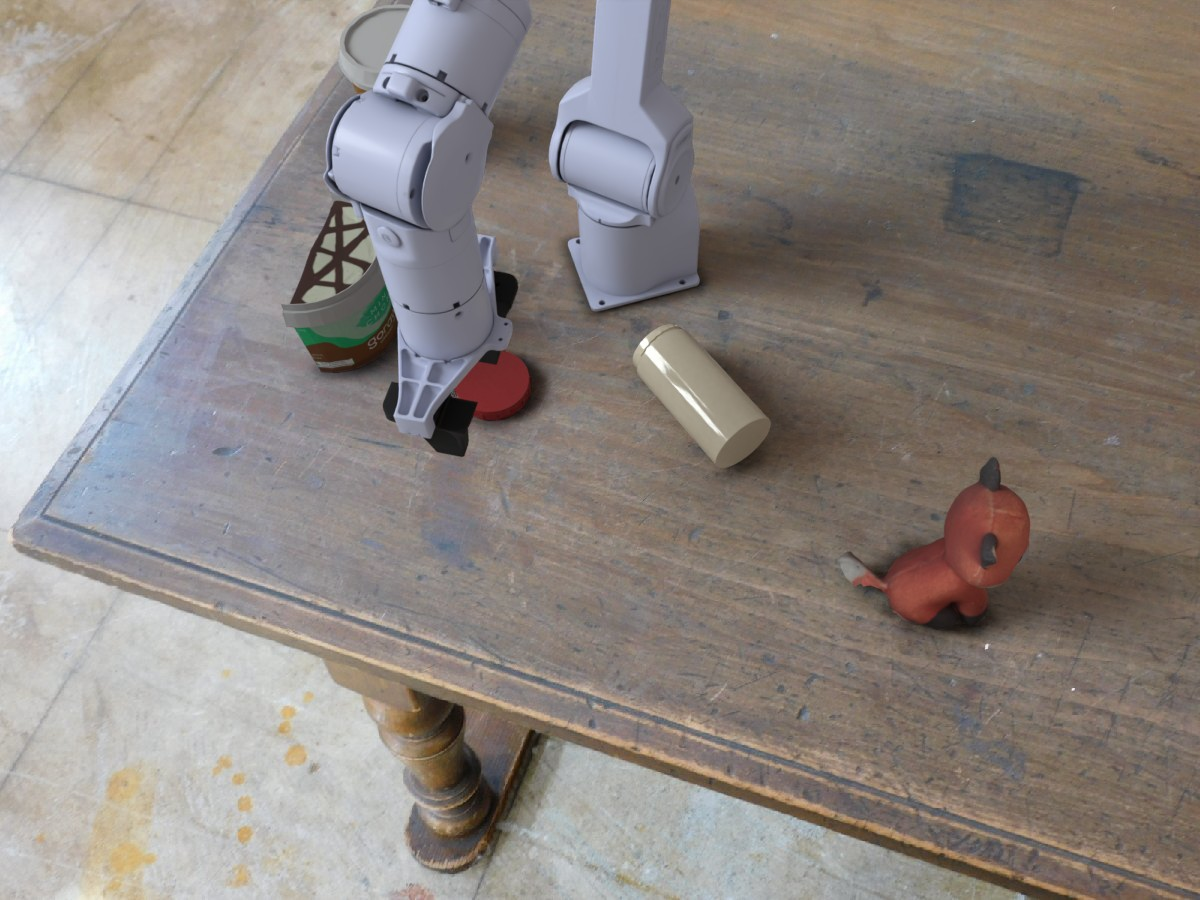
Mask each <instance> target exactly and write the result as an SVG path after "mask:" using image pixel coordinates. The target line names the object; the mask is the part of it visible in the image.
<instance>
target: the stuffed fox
mask: <svg viewBox="0 0 1200 900" xmlns="http://www.w3.org/2000/svg"><path fill="white" fill-rule="evenodd" d="M1001 483H1002V472H1001V466H1000V462H999V459H998V458H997V457H996V456H991V457H990V458H988V460H987V461H986V463H985V464H984V465H983V466H981V467H980V470H979V478H978V480H977V481H976V482H975V483H973V484H970V485H969V486H967V487H966V488H964V489H963V490H961V491H960V492H959V493H958V494H957V496H956V497H955V498H954V500H953V501H952V503H951V504H950V507H949V509H948V511H947V513H946V516H945V519H944V520H945V521H944V524H943V537H940V538H938V539H936V540H934V541H932V542H931V543H928V544H924V545H920V546H917V547H914V548H910V549H908V550H907V551H906V552H904V553H902V554H901V555H899V556H898V557H897V558H895V560H894V561H893V563H891V565H890V566H889V569H888V570H887V571H886V572H885V573H883V574H882V573H880V574H879V575H877V574H876V573H875V572H874V571H873V570H872V569H871V568H870V567H868V566H867V565H866V564H865V563H864V562H863V561H862V560H861V559H860V558H858V557H857V556H855V554H854V553H853V552H852V551H851V550H849V551H846V552H845V553H843V554H841V555H839V556H838V557H837V562H838V565H839V566H840V568H841V571H842V573H843V575H844V577H845V578H846V580H848V581H849V582H850V583H851V585H853V586H854V587H857V586H858V585H861V586H862V587H863V588H864V587H867V586H872V587H874V588H876V589H879V590H881V591H882V593H884V594H885V595H887V597H888V601H889V607H890V608H891V609H892V612H893V613H894V614H897V616H899V618H901V621H903V622H906V623H909V624H916V625H918V626H921V627H924V628H930V629H933V630H937V631H938V630H940V631H945V630H950V629H952V628H953V627H955V626H956V625H958V624H962V625H965V626H969V627H974V626H977V625H978V624H980V623H981V621H982V620H984V618H985V617H987V613H988V607H989V600H988V590H987V589H993V588H996V587H1000V586H1002V585H1003V584H1005V582H1006V581H1008V580H1009V578H1010V577H1011V575H1012V573H1013V571H1014V570H1015V568H1017V567H1019V566H1020V565H1022V564H1024V562H1025V561H1026V560H1027V559H1028V556H1029V554H1030V535H1031V534H1030V533H1031V517H1030V513H1029V510H1028V507H1027V505H1026V503H1025V502H1024V500H1023V499H1022V498H1021V496H1019V495H1018V494H1017V493H1016V492H1015V491H1014V490H1012V489H1011V488H1009V487H1008V486H1006V485H1004V484H1001Z"/></svg>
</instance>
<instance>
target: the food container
mask: <svg viewBox="0 0 1200 900" xmlns="http://www.w3.org/2000/svg"><path fill="white" fill-rule="evenodd" d="M329 192H330V195H331V199H332V205H331V207H330V208H329V209H330V210H329V213H328V215H327V218H326V220H325V221H324V224H323V226H322V228H321V231H320V232H319V234H318V236H317V237H316V239H315V241H314V243H313V245H312V247H311V248H310V251H309V253H308V255H307V259H306V262H305V265H304V267H303V271H302V273H301V275H300V279H299V282H298V283H297V286H296V288H295V291H294V293H293V295H292V298H291V300H290V302H289V303H282V302H281V303H280V306H281V309H282V312H281V314H282V317H283V321H284V324H285V327H286V328H293V329H294V330H295V332H296V333H297V335H298V337H299V339H300V340H301V341H302V344H303V345H304V346H305V348H306V350H307V351H308V353H309V355H310V356H311V358H312V360H313V361H314V363H315V365H316V366H317V368H318V370H319V371H320V372H321V373H340V372H348V371H354V370H356V369H358V368H361V367H363V366H365V365H368V364H370V363H372V362H373V361H375V360H376V359H377V358H378V357H380V356H381V355H383V354H384V353H385V352H386V351H387V349H388V348H389V347H390V346H391V344H392V343H393V341H394V339H395V338H396V336H397V333H398V321H397V317H396V314H395V311H394V308H393V305H392V302H391V299H390V296H389V293H388V290H387V287H386V284H385V281H384V278H383V275H382V272H381V268H380V265H379V262H378V259H377V256H376V253H375V250H374V247H373V244H372V241H371V237H370V234H369V231H368V228H367V225H366V222H365V221H364V218H363V219H361V218H359V217H357V216H356V215H355V212H354V209H353V206H352V204H351V202H350V201H349V200H347V199H344V198H342V197H339V196H337V195H335V194H334V193H333V192H331V191H329Z"/></svg>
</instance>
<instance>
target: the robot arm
mask: <svg viewBox="0 0 1200 900" xmlns="http://www.w3.org/2000/svg"><path fill="white" fill-rule="evenodd" d="M595 1H596V4H595V15H594V16H595V17H594V31H593V41H592V42H593V43H592V44H593V45H592V59H591V70H590V71H591V73H590V75H588V76H585V77H583V78H581V79H580V80H578V81H576V82H575V83H574V84H573V85H572V86H571V87H570V88H569V89H568V90H567V92H566V93H565V94H564V95H563V97H562V98H561V100H560V101H559V104H558V110H557V117H556V123H555V127H554V129H553V132H552V136H551V138H550V143H549V148H548V164H549V167H550V172H551V174H552V176H553V178H554V179H555V180H556V181H558V182H561V183H563V184H566V186H567V195H568V196H569V197H571V198H572V199H574V200H575V201H576V205H577V207H576V209H577V219H578V232H579V233H578V234H579V237H574V238H571V239H569V240H568V242H567V247H568V251H569V253H570V255H571V258H572V259H571V260H572V262H573V264H574V267H575V269H576V272H577V275H578V277H579V281H580V284H581V286H582V289H583V291H584V294H585V297H586V300H587V302H588V305H589V307H590V309H591V311H593V312H602V311H604V310H609V309H614V308H617V307H621V306H624V305H625V306H626V305H629V304H634V303H636V302H640V301H644V300H648V299H652V298H656V297H659V296H662V295H667V294H671V293H674V292H675V293H676V292H679V291H683V290H687V289H690V288H694V287H697V286H698V285H700V283H701V282H700V275H699V274H698V263H699V262H698V261H699V246H700V231H701V229H700V227H701V226H700V213H699V205H698V201H697V197H696V194H695V191H694V188H693V185H692V182H691V177H692V174H693V170H694V165H695V150H694V145H693V144H694V143H693V134H694V125H693V124H694V123H693V122H694V115H693V114H692V112H691V111H690V109H689V108H688V107H687V106H686V105H685V104H684V103H683V102H682V100H680V98H679V97H678V96H677V95H676V94H675V93H674V92H673V90H672V89H670V87H669V86H668V85H667V84H666V82H665V81H664V79H663V78H662V77H663V69H664V62H665V61H664V60H665V55H666V54H665V53H666V45H667V37H668V30H669V23H670V22H669V21H670V14H671V6H672V0H595ZM410 5H411V7H410V9H409V11H408V13H407V15H406V17H405V20H404V22H403V24H402V26H401V28H400V30H399V32H398V35H397V37H396V39H395V41H394V43H393V45H392V47H391V50H390V52H389V54H388V56H387V58H386V60H385V62H384V65H383V67H382V69H381V71H380V73H379V75H378V77H377V80H376V82H375V84H374V86H373V89H371V90H369V91H367V92H365V93H363V94H357V93H356V94H354V95H353V96H351V97H350V98H349V99H347V100H345V102H344V104H342V105H341V107H340V108H339V109H338V111H337V112H336V114H335V116H334V117H333V120H332V122H331V124H330V127H329V130H328V133H327V138H326V143H325V162H326V168H325V169H326V170H325V171H324V173H323V175H322V176H323V177H322V178H323V181H324V183H325V185H326V186H327V188H328V190H329V192H333V193H334V194H335V195H337V196H339V197H342V198H344V199H347V200H349V201H350V202H351V204H352V206H353V209H354V212H355V215H356V216H357V217H359V218H361V219H363V218H364V221H365V222H366V225H367V228H368V231H369V234H370V237H371V241H372V244H373V247H374V250H375V253H376V256H377V259H378V262H379V265H380V268H381V272H382V275H383V278H384V281H385V284H386V287H387V290H388V293H389V296H390V299H391V302H392V305H393V308H394V311H395V314H396V317H397V321H398V328H397V353H398V354H397V360H398V361H397V362H398V365H397V366H398V382H395V381H391V382H390V384H389V387H388V389H387V391H386V394H385V397H384V399H383V402H382V410H383V412H384V415H385V418H386V419H387V421H389V422H392V423H395V424H396V427H397V430H398V432H399V433H400V434H404V435H408V436H412V437H418V438H422V439H424V440H425V441H426V442H427V443H428V444H429V446H431V447H432V449H433V450H434V451H435V452H436V453H439V454H444V455H448V456H453V457H459V458H463V457H465V455H466V453H467V450H468V447H469V443H470V437H469V436H470V435H469V427H470V426H471V423H472V421H473V417H474V416H473V415H474V412H475V410H476V407H477V404H478V402H475V401H470V400H464V399H459V398H457V397H455V396H452V392H453V391H455V390H454V389H455V388H456V386H457V385H458V384H459V383H460V382H461V381H462V380H463V378H464V377H465V376H466V375H467V374H468V373H469V371H470V370H471V369H472V368H473V367H474V366H475V364H476V363H477V362H483V363H488V364H494V365H497V362H498V359H499V356H500V353H501V351H505V350H506V349H507V348H508V346H509V345H510V341H511V339H512V336H513V333H514V326H513V322H512V320H511V319H509V318H507V315H508V314H509V312H510V310H511V309H512V308H513V305H514V302H515V300H516V297H517V294H518V291H519V283H518V279H517V277H515V276H514V275H513V274H511V273H509V272H505V271H498V270H494V267H496V265H497V263H498V261H499V258H500V254H499V247H498V243H497V237H496V236H493V235H486V234H480V233H478V232H477V227H476V226H477V225H476V222H475V216H474V211H473V206H472V204H473V202H474V200H475V198H476V196H477V195H478V194H479V191H480V189H481V185H482V183H483V180H484V175H485V171H486V164H487V154H488V148H489V144H490V142H491V140H492V137H493V130H494V128H495V127H494V124H493V122H492V121H491V120H490V119H489V117H490V114H491V111H492V110H493V107H494V105H495V103H496V101H497V98H498V96H499V94H500V92H501V90H502V88H503V86H504V84H505V82H506V79H507V77H508V75H509V72H510V71H511V69H512V67H513V64H514V62H515V60H516V58H517V55H518V54H519V51H520V49H521V47H522V45H523V43H524V41H525V39H526V36H527V35H528V32H529V30H530V28H531V25H532V23H533V18H534V17H533V11H532V8H531V3H530V1H529V0H412V2H411V4H410Z"/></svg>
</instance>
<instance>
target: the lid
mask: <svg viewBox="0 0 1200 900" xmlns="http://www.w3.org/2000/svg"><path fill="white" fill-rule="evenodd" d="M531 389H532V378H531V376H530V372H529V369H528V367H527V365H526V363H525V362H524V361H523V360H522V359H521V358H520V357H519V356H517V355H515V354H514V353H512V352H510V351H506V350H502V351H501V353H500V356H499V359H498V362H497V365H494V364H488V363H483V362H477V363H476V364H475V366H474V367H473V368H472V369H471V370H470V371H469V373H468V374H467V375H466V376H465V377H464V378H463V380H462V381H461V382H460V383H459V384H458V385H457V386H456V388H455V389H454V390H453V391H454V393H455V396H456V398H459V399H464V400H470V401H475V402H478V404H477V407H476V410H475V412H474V415H473V417H474V418H477V419H480V420H482V421H500V420H502V419H507V418H509V417H511V416H514V415H515V414H516V413H518V412H519V411H520V410H521V409H522V408H524V407H525V404H526V403H527V402H528V399H529V398H530V396H531V395H532V393H531Z"/></svg>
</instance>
